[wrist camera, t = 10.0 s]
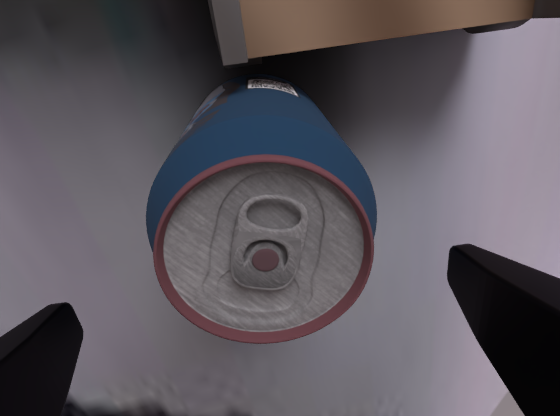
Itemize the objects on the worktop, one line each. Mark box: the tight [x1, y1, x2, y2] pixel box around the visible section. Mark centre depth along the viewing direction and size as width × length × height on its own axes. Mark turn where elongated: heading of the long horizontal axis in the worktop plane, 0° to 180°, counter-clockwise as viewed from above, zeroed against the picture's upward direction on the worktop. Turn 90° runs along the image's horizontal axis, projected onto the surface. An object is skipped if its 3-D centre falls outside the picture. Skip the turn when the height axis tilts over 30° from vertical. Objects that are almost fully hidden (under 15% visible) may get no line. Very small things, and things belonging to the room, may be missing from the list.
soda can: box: [146, 74, 377, 344], centre depth 15 cm, size 7×7×12 cm
